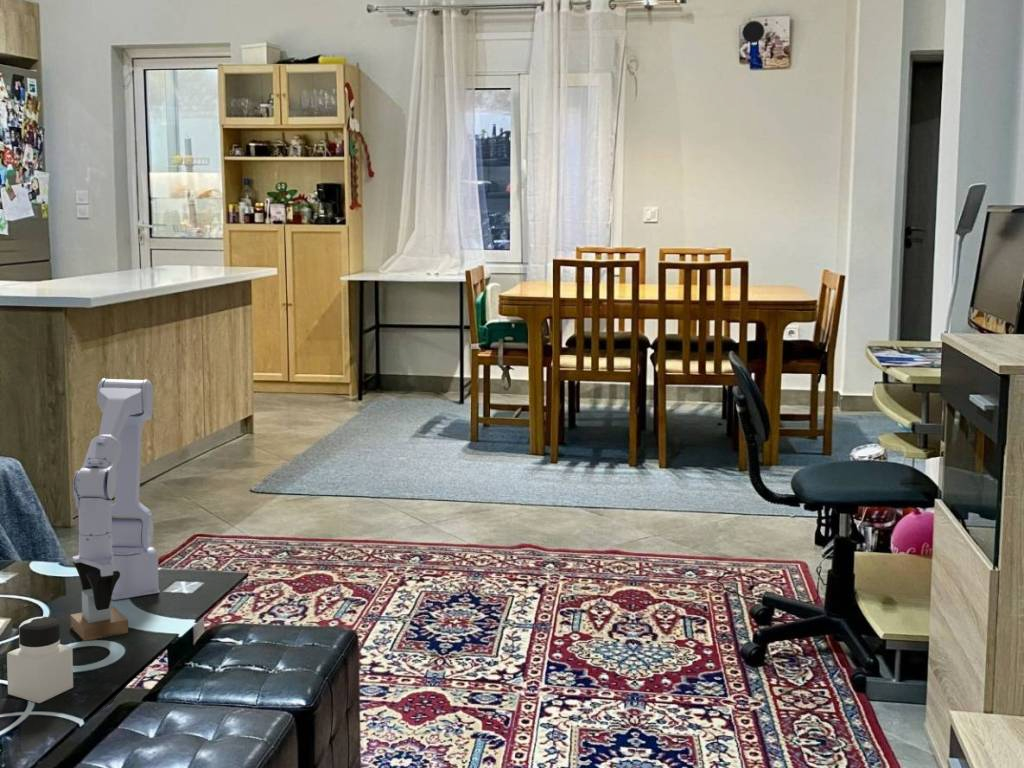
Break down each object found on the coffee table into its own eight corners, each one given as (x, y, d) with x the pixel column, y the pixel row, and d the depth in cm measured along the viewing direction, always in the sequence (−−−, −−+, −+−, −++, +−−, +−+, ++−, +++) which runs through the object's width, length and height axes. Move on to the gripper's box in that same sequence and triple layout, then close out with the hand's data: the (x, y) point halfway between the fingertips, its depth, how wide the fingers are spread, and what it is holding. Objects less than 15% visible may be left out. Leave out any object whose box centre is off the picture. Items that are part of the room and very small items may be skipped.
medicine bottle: (74, 687, 182) (72, 618, 181) (39, 704, 176) (37, 632, 174) (42, 678, 185) (40, 610, 184) (6, 694, 179) (4, 623, 177)
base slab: (113, 621, 213) (113, 606, 212) (128, 635, 207) (127, 619, 206) (70, 629, 208) (70, 614, 208) (83, 643, 202) (83, 628, 201)
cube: (104, 612, 209) (103, 586, 209) (110, 619, 206) (110, 593, 205) (82, 616, 207) (81, 590, 206) (88, 623, 204) (88, 596, 203)
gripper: (62, 524, 208) (63, 594, 210) (83, 545, 196) (85, 618, 198) (101, 519, 212) (102, 588, 214) (124, 539, 200) (125, 611, 202)
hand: (96, 602), depth 206 cm, fingers open, 7 cm apart
